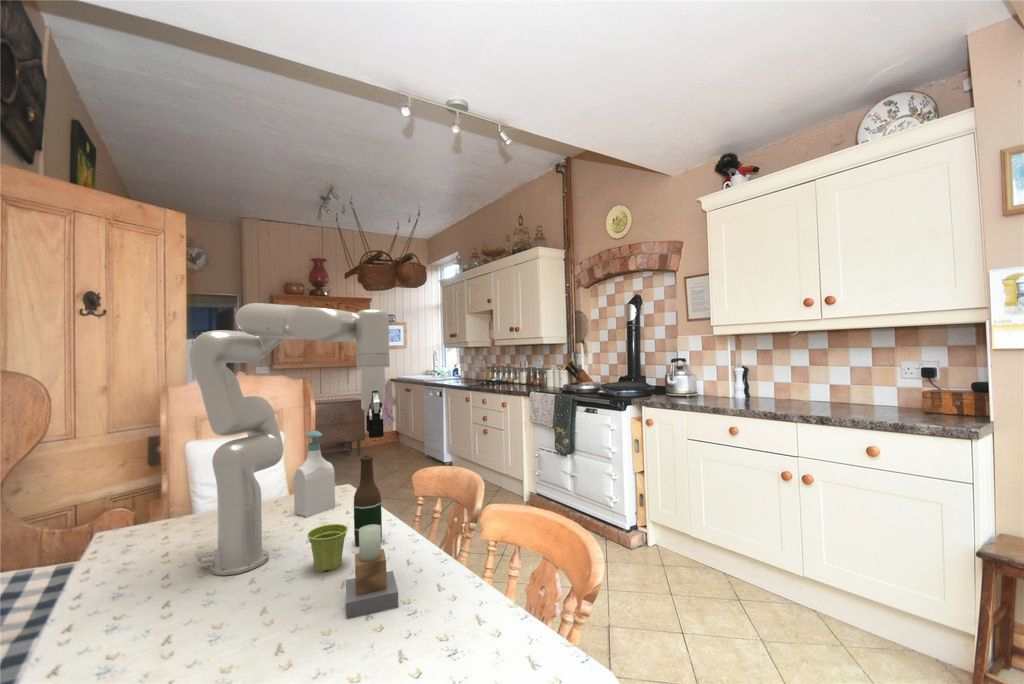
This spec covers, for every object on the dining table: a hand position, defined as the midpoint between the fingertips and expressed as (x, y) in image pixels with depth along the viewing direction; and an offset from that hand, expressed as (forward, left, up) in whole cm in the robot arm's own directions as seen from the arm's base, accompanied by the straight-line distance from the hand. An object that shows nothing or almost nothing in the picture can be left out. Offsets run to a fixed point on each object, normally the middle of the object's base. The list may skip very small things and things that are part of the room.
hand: (374, 433), depth 105 cm
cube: (-2, -10, -30) cm, 32 cm away
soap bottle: (-16, +57, -34) cm, 68 cm away
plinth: (-2, -10, -33) cm, 35 cm away
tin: (-2, -10, -24) cm, 26 cm away
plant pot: (-11, +11, -34) cm, 37 cm away
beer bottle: (-1, +22, -34) cm, 40 cm away
